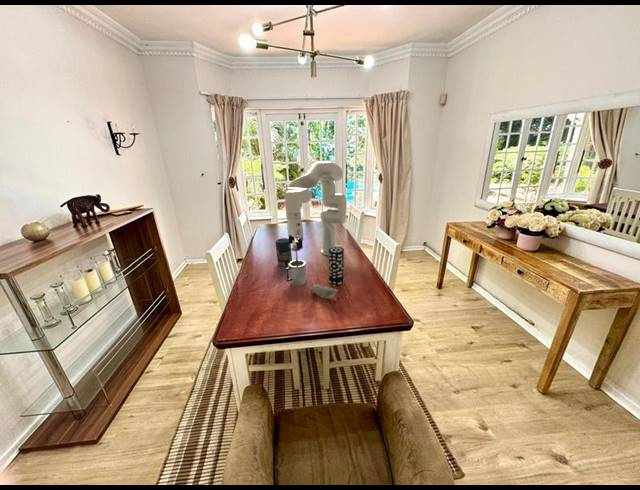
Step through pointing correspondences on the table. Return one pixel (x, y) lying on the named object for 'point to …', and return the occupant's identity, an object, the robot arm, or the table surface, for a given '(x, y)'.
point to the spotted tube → (336, 266)
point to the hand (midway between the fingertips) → (295, 246)
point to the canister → (283, 251)
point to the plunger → (296, 252)
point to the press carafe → (296, 273)
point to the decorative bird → (325, 292)
